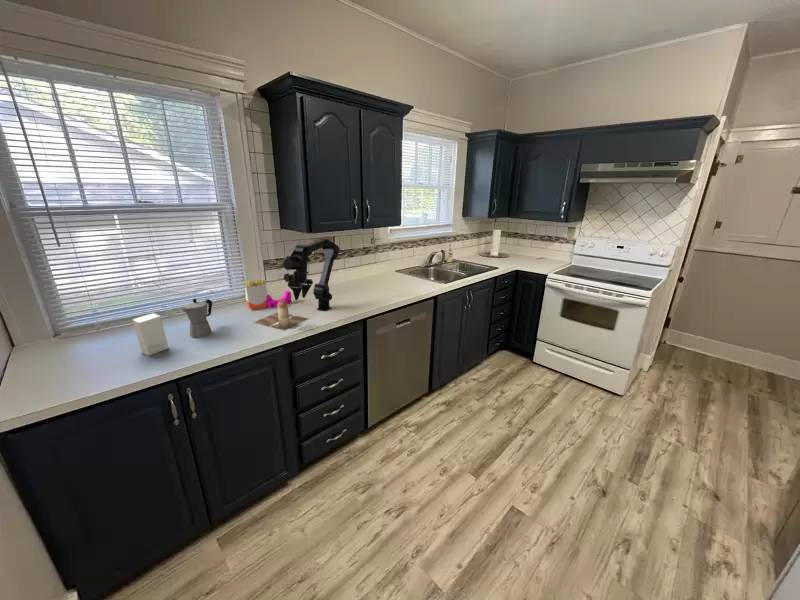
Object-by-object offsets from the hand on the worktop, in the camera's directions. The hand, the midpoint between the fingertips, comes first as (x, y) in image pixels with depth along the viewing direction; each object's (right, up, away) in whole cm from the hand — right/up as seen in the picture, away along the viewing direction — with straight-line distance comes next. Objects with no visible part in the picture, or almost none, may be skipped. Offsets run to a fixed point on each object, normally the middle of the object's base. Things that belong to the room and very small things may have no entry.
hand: (300, 298), depth 172 cm
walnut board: (-10, -12, 0) cm, 16 cm away
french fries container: (-30, -6, +18) cm, 36 cm away
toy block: (-20, -4, +25) cm, 32 cm away
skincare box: (-53, -23, -32) cm, 66 cm away
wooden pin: (-6, -14, -7) cm, 17 cm away
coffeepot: (-43, -17, -15) cm, 48 cm away
